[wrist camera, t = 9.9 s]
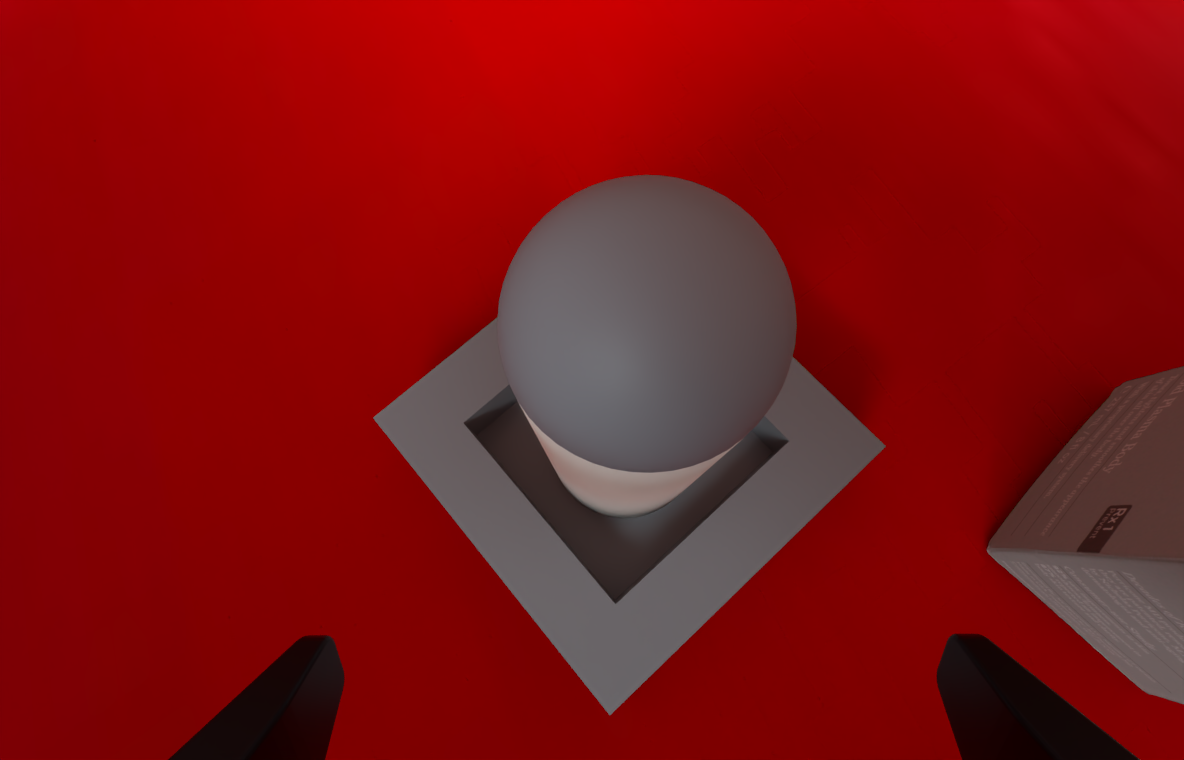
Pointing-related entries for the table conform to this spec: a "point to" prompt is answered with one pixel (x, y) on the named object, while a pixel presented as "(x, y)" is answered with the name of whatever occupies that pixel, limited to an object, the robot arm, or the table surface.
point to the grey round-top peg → (644, 337)
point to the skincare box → (1113, 533)
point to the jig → (619, 545)
